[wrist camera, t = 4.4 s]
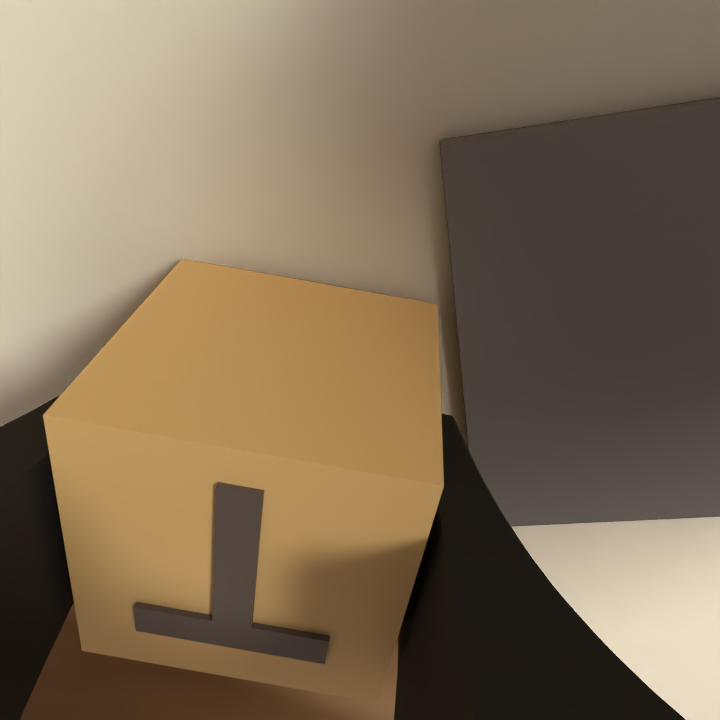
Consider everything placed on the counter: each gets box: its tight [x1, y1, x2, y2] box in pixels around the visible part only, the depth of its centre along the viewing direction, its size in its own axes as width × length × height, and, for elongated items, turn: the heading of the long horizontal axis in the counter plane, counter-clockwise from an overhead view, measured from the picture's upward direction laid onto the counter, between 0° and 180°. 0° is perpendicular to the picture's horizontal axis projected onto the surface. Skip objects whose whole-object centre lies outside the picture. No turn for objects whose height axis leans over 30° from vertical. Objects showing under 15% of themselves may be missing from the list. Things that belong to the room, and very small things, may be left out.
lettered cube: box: [43, 259, 444, 703], centre depth 11 cm, size 5×5×5 cm
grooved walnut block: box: [20, 605, 398, 720], centre depth 14 cm, size 3×10×6 cm, turn 81°
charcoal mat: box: [440, 98, 720, 526], centre depth 12 cm, size 9×9×1 cm
